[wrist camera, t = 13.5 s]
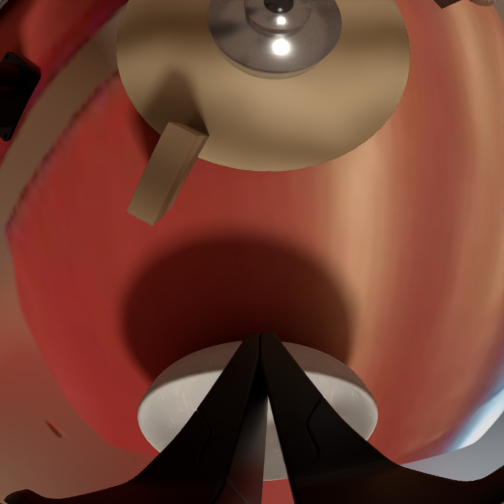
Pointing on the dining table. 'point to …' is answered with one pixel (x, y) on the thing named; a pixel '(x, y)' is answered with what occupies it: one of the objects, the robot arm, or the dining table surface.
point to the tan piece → (252, 95)
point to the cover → (274, 34)
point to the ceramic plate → (2, 3)
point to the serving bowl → (313, 364)
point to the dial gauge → (481, 0)
